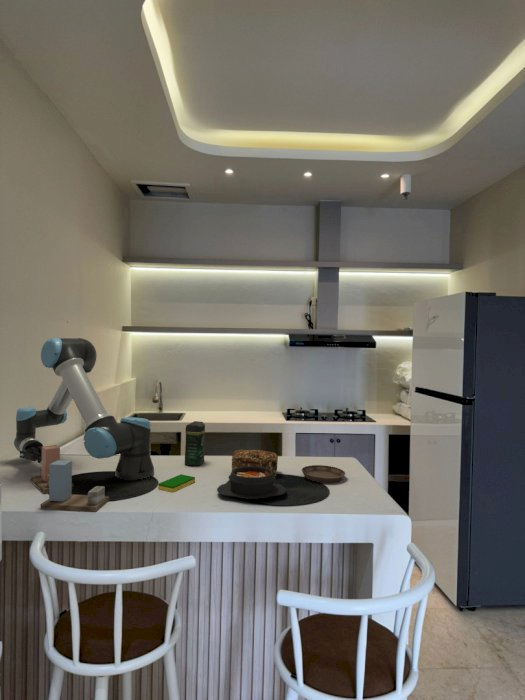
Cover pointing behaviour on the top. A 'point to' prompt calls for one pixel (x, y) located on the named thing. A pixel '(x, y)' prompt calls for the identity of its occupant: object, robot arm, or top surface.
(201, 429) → the coffee jar
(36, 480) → the brown piece
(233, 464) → the bread
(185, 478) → the dish sponge
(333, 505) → the top surface
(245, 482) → the casserole
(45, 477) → the terracotta tall block
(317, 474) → the plant saucer
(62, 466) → the slate blue block
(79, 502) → the wooden board with block
